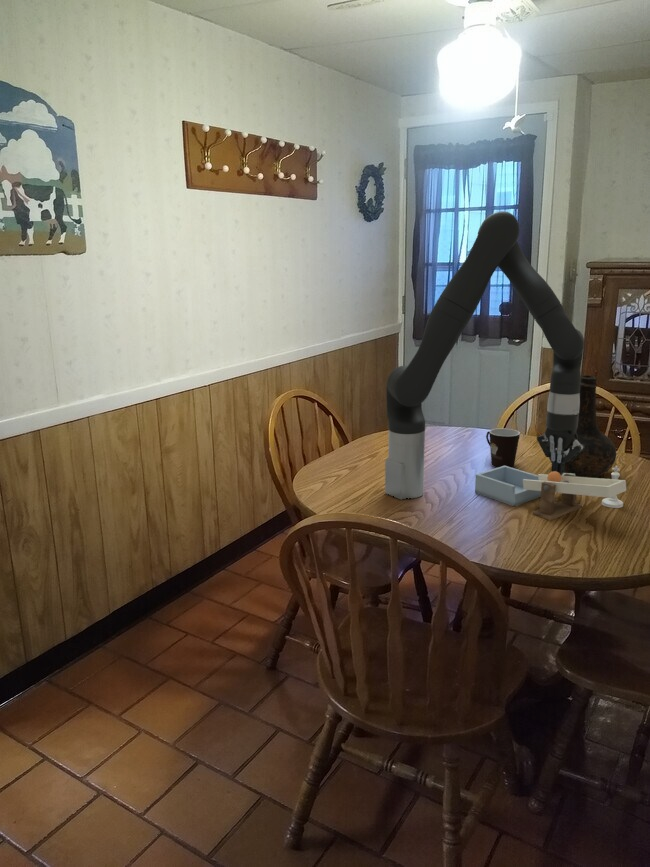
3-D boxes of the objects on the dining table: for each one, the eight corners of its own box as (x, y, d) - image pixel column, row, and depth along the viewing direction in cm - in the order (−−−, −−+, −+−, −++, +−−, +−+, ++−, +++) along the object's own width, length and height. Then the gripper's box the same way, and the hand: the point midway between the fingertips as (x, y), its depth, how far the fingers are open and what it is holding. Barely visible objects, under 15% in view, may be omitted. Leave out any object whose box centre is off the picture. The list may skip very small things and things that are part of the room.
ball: (546, 470, 159) (543, 481, 161) (557, 476, 157) (553, 488, 159) (554, 467, 161) (551, 478, 163) (565, 474, 159) (561, 485, 161)
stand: (582, 507, 163) (585, 476, 161) (550, 520, 155) (552, 488, 153) (564, 501, 167) (566, 471, 164) (532, 514, 159) (534, 482, 157)
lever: (647, 482, 155) (646, 471, 154) (609, 497, 145) (608, 487, 145) (561, 475, 173) (560, 466, 173) (523, 489, 164) (522, 479, 163)
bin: (514, 506, 164) (515, 487, 163) (474, 492, 174) (475, 474, 172) (543, 495, 171) (544, 477, 169) (503, 482, 180) (504, 465, 179)
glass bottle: (600, 464, 195) (609, 369, 187) (624, 485, 177) (636, 382, 170) (538, 464, 195) (545, 370, 188) (557, 485, 178) (565, 382, 171)
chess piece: (605, 499, 168) (609, 461, 165) (625, 503, 165) (630, 465, 162) (598, 505, 164) (602, 466, 161) (619, 509, 161) (623, 470, 158)
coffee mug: (521, 469, 191) (523, 436, 188) (491, 469, 191) (492, 436, 188) (511, 457, 202) (513, 425, 199) (482, 457, 202) (484, 425, 200)
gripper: (531, 407, 168) (526, 471, 173) (578, 417, 158) (571, 485, 163) (549, 402, 172) (544, 466, 177) (595, 412, 162) (589, 478, 167)
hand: (557, 475), depth 170 cm, fingers closed
